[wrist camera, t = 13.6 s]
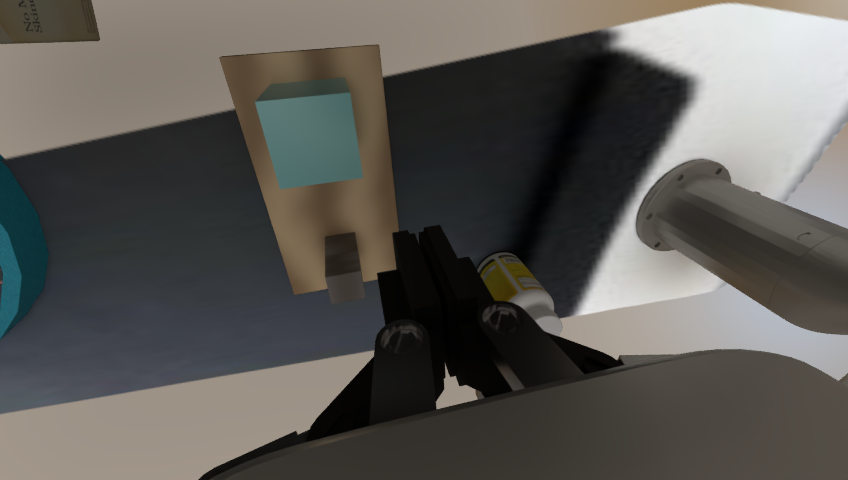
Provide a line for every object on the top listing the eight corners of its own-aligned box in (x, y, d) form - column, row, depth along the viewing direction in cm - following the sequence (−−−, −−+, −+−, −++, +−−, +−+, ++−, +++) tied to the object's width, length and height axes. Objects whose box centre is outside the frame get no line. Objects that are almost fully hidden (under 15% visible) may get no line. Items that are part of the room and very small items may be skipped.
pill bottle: (480, 297, 47) (518, 364, 38) (468, 262, 44) (507, 327, 34) (523, 279, 47) (572, 341, 38) (515, 242, 44) (566, 301, 35)
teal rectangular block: (344, 77, 29) (350, 92, 23) (355, 147, 32) (363, 177, 26) (270, 84, 28) (254, 101, 22) (288, 155, 31) (279, 189, 25)
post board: (377, 44, 30) (393, 50, 23) (401, 269, 42) (416, 316, 35) (222, 56, 28) (189, 66, 21) (295, 289, 40) (289, 342, 33)
